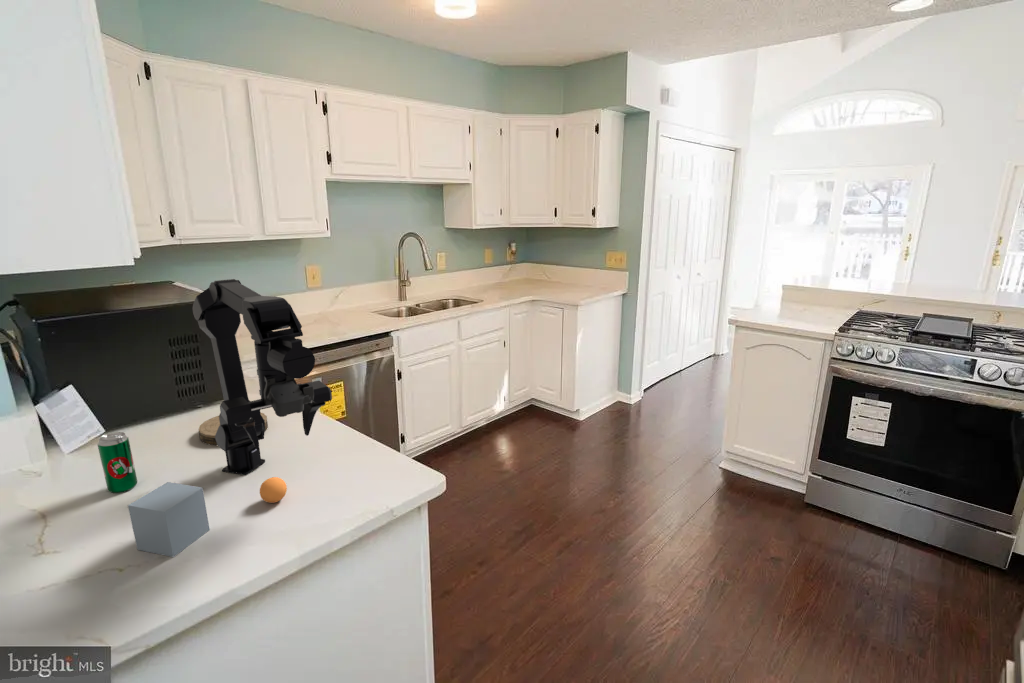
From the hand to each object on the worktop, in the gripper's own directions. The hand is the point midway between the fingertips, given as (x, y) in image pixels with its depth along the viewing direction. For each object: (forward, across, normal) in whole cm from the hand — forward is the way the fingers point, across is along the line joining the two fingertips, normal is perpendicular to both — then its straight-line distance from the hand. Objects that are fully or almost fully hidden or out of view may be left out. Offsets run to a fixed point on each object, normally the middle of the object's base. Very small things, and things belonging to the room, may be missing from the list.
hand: (282, 441), depth 97 cm
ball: (+11, -2, +3) cm, 12 cm away
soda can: (+14, -25, +28) cm, 40 cm away
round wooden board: (+15, 0, +43) cm, 46 cm away
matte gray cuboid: (+14, -20, +2) cm, 24 cm away
